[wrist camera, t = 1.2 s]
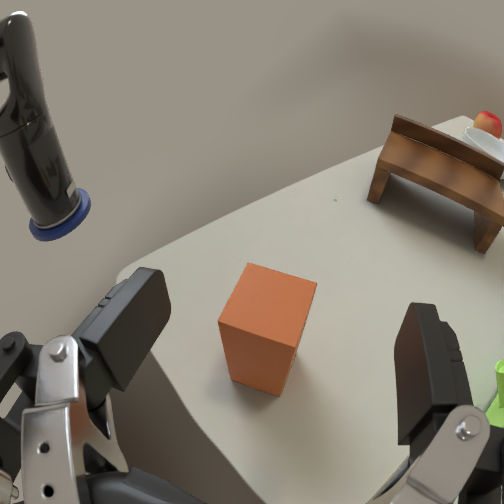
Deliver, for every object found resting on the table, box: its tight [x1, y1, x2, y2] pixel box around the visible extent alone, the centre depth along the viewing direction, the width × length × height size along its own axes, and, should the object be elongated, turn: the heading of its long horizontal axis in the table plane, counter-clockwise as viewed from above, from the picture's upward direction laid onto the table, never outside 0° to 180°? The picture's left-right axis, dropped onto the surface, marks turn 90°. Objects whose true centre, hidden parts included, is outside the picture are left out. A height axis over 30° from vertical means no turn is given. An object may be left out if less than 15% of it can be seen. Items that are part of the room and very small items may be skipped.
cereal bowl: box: [462, 127, 504, 179], centre depth 53 cm, size 17×17×7 cm
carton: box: [218, 263, 317, 396], centre depth 24 cm, size 5×5×12 cm
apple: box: [474, 111, 502, 139], centre depth 63 cm, size 10×10×10 cm
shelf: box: [367, 114, 504, 254], centre depth 40 cm, size 22×14×11 cm, turn 59°
